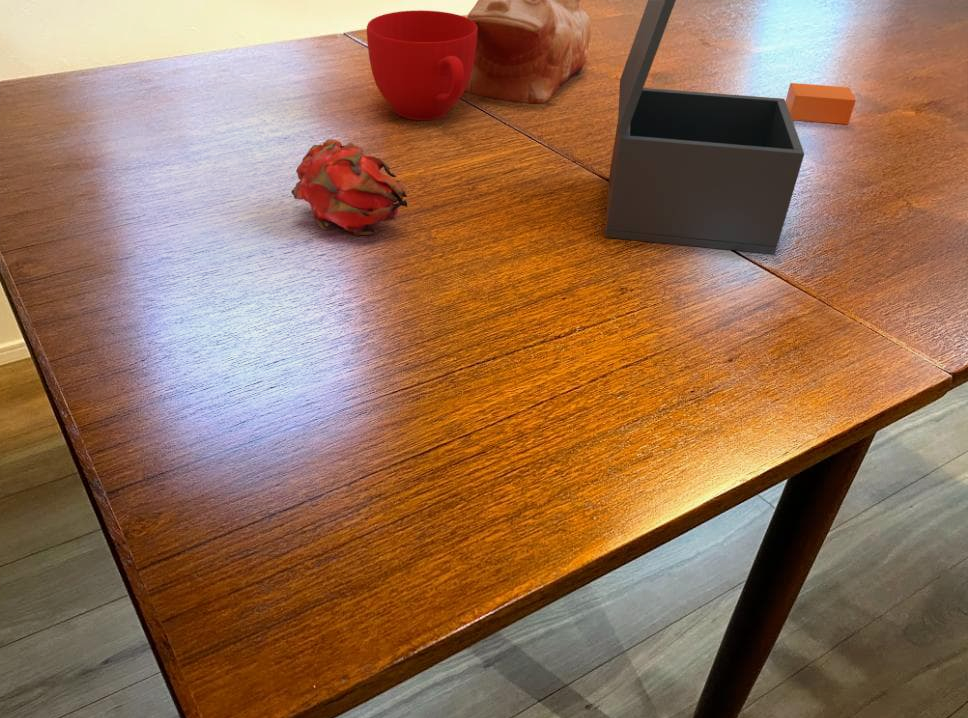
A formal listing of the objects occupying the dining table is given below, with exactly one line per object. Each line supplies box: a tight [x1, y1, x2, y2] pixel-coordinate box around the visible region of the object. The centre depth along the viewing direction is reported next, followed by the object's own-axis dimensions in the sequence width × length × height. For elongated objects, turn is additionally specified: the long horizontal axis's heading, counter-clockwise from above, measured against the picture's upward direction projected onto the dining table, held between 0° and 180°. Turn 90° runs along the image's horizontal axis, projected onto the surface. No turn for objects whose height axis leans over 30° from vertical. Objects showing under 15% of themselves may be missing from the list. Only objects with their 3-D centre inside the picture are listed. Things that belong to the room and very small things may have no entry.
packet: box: [785, 82, 857, 125], centre depth 109 cm, size 7×5×3 cm, turn 79°
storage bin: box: [605, 87, 805, 255], centre depth 85 cm, size 16×14×10 cm
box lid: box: [617, 0, 677, 134], centre depth 77 cm, size 16×14×6 cm
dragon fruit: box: [290, 138, 409, 236], centre depth 83 cm, size 8×8×12 cm
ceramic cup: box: [366, 9, 478, 121], centre depth 104 cm, size 13×17×10 cm
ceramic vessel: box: [464, 0, 592, 105], centre depth 114 cm, size 14×26×15 cm, turn 155°
